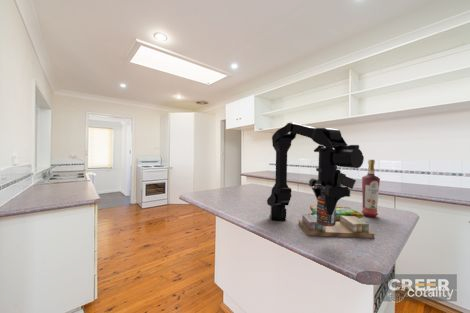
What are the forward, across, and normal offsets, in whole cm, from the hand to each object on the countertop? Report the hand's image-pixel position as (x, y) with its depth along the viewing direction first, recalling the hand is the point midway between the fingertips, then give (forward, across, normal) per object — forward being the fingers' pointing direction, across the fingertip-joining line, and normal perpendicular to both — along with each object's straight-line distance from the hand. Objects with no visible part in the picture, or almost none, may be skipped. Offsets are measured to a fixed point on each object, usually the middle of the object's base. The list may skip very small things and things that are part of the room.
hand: (326, 211), depth 67 cm
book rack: (+11, +12, -8) cm, 18 cm away
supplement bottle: (+4, 0, 0) cm, 4 cm away
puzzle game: (+11, +29, -16) cm, 35 cm away
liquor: (+11, +33, -35) cm, 49 cm away
